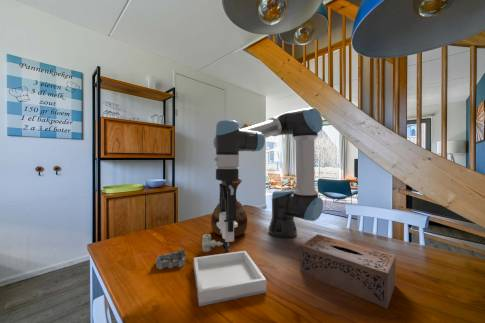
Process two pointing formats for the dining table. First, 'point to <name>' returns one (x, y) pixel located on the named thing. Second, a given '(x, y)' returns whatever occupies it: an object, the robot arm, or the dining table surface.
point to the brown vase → (240, 216)
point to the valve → (213, 243)
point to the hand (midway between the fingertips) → (226, 236)
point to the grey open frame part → (168, 257)
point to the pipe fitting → (223, 223)
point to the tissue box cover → (350, 268)
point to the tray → (227, 277)
